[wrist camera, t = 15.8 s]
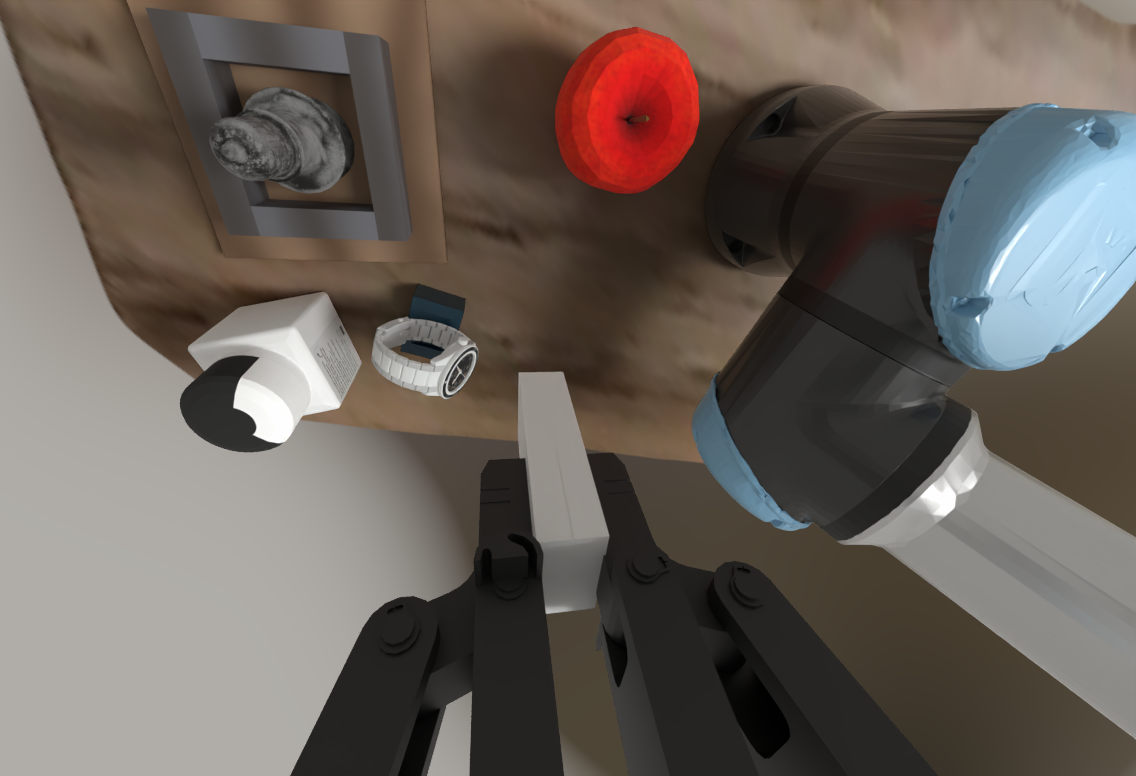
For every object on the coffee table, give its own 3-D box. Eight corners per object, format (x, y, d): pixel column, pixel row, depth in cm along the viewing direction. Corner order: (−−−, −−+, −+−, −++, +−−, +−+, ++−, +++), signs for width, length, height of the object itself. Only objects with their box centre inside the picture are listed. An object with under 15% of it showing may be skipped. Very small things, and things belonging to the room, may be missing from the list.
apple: (562, 195, 35) (589, 222, 26) (527, 71, 30) (544, 51, 21) (661, 158, 34) (721, 173, 25) (641, 27, 29) (709, -12, 20)
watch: (469, 353, 41) (465, 419, 32) (386, 330, 39) (355, 395, 30) (486, 304, 39) (485, 361, 30) (398, 276, 36) (368, 329, 27)
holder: (425, 1, 27) (416, -16, 23) (447, 260, 36) (443, 274, 33) (121, -41, 24) (62, -67, 20) (231, 254, 33) (203, 269, 30)
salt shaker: (314, 71, 27) (214, 44, 17) (376, 160, 30) (323, 182, 20) (245, 118, 28) (112, 119, 18) (314, 201, 31) (233, 240, 21)
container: (284, 379, 40) (210, 475, 29) (237, 306, 35) (128, 388, 25) (364, 363, 40) (319, 452, 29) (327, 289, 36) (258, 362, 25)
